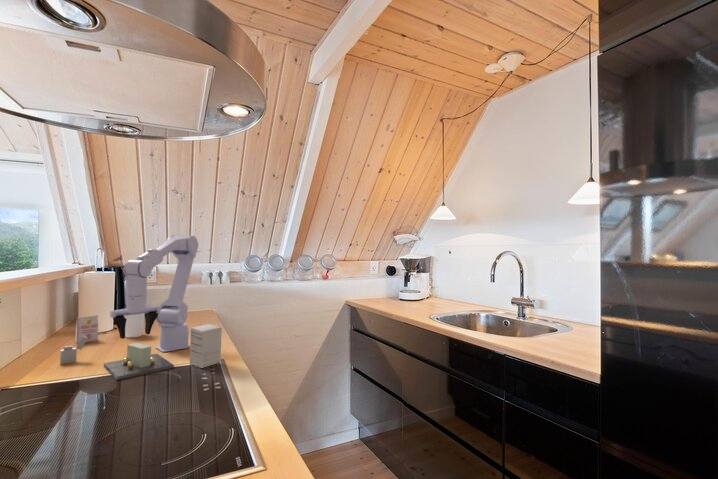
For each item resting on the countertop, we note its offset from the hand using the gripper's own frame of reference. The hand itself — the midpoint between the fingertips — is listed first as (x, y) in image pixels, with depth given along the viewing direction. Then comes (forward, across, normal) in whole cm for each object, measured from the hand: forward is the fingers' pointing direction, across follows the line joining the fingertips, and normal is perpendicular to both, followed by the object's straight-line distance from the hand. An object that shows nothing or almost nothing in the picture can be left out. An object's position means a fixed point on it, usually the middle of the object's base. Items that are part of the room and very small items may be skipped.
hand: (135, 335), depth 123 cm
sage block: (+8, 0, +4) cm, 9 cm away
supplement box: (+10, -16, +17) cm, 25 cm away
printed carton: (+10, +2, -42) cm, 43 cm away
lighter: (+10, +13, -17) cm, 23 cm away
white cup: (+10, -13, -38) cm, 42 cm away
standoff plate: (+9, 0, +4) cm, 10 cm away
